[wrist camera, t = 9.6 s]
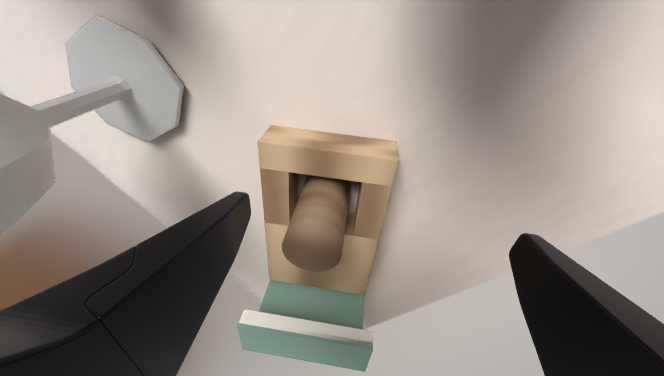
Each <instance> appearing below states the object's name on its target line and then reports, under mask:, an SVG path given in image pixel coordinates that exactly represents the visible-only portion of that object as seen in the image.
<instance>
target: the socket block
mask: <svg viewBox="0 0 664 376" xmlns="http://www.w3.org/2000/svg"><path fill="white" fill-rule="evenodd" d="M258 150H259V162H260V173H261V185H262V197H263V208H264V220H265V231H266V243H267V254H268V266H269V278H270V280H274V281H280V282H286V283H292V284H299V285H305V286H311V287H317V288H323V289H329V290H335V291H341V292H347V293H353V294H360V295H365V291H366V287H367V283H368V279H369V275H370V271H371V267H372V264H373V260H374V256H375V252H376V248H377V244H378V240H379V236H380V232H381V228H382V225H383V221H384V217H385V213H386V209H387V205H388V201H389V197H390V193H391V189H392V186H393V182H394V178H395V174H396V170H397V166H398V162H399V158H398V151H397V144H396V142H395V141H387V140H379V139H372V138H364V137H356V136H349V135H341V134H333V133H325V132H318V131H310V130H302V129H295V128H287V127H279V126H272V125H271V126H270V127H269V128H268V130H267V131H266V132H265V133H264V135H263V136H262V137H261V138H260V140H259V141H258ZM298 173H299V174H306V175H313V176H321V177H328V178H335V179H342V180H349V181H356V182H360V188H359V194H358V200H357V206H356V211H355V213H350V212H347V219H346V227H345V234H344V242H343V249H342V257H341V260H340V262H339V263H338V265H336V266H335V267H334V268H332V269H330V270H327V271H321V272H313V271H307V270H304V269H301V268H299V267H296V266H295V265H293V264H292V263H290V262H289V261H288V260H287V259H286V257H285V256H284V254H283V252H282V242H283V239H284V236H285V234H286V231H287V228H288V226H289V223H290V221H291V218H292V215H293V213H294V210H295V207H296V205H297V178H298Z"/></svg>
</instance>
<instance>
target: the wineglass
mask: <svg viewBox="0 0 664 376" xmlns="http://www.w3.org/2000/svg"><path fill="white" fill-rule="evenodd" d="M66 50H67V58H68V65H69V73H70V80H71V87H72V88H73V89H74V90H75V91H76V92H73V93H70V94H67V95H64V96H61V97H58V98H55V99H52V100H49V101H46V102H43V103H40V104H37V105H34V106H31V107H30V106H27V105H25V104H22V103H20V102H18V101H15V100H13V99H11V98H8V97H6V96H4V95H1V94H0V233H2V232H3V231H5V230H7V229H8V228H10V227H11V226H13V225H14V224H15V223H16V221H18V220H19V219H20V218H21V217H22V216H23V214H24V213H26V211H28V209H29V208H31V206H32V205H33V204H34V203H35V202H36V201H37V200H38V199H39V198H40V197H41V196H42V195H43V194H44V193H45V192H46V191H47V190H48V189H49V188H50V187H51V186H52V185H53V184H54V183H55V182H56V181H55V171H54V162H53V152H52V142H51V132H50V128H52V127H54V126H57V125H59V124H62V123H64V122H67V121H69V120H72V119H74V118H77V117H79V116H82V115H84V114H87V113H89V112H92V111H95V112H96V113H97V114H98V115H99V116H100V117H101V118H102V119H103V120H104V121H105V122H106V123H107V124H108V125H111V126H113V127H115V128H117V129H120V130H122V131H124V132H127V133H129V134H131V135H133V136H136V137H138V138H140V139H143V140H145V141H147V142H150V141H152V140H154V139H156V138H157V137H159V136H161V135H163V134H164V133H166V132H168V131H170V130H171V129H173V128H175V127H177V126H178V125H179V123H180V115H181V106H182V98H183V90H184V85H183V84H182V82H181V81H180V80H179V78H178V77H177V76H176V74H175V73H174V72H173V71H172V69H171V68H170V67H169V65H168V64H167V63H166V61H165V60H164V59H163V57H162V56H161V55H160V53H159V52H158V51H157V49H156V48H155V47H154V45H153V44H152V43H151V42H150V41H149V40H147V39H145V38H143V37H141V36H139V35H137V34H135V33H133V32H131V31H129V30H127V29H125V28H123V27H121V26H119V25H117V24H115V23H113V22H111V21H109V20H107V19H105V18H103V17H101V16H97V15H95V16H93V17H92V18H91V19H90V20H89V21H88V22H87V23H86V24H85V25H84V26H82V27H81V28H80V29H79V30H78V31H77V32H76V33H75V34H74V35H73V36H72V37H71V38H70V39H69V40H68V41H67V42H66Z"/></svg>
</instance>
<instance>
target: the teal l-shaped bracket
mask: <svg viewBox="0 0 664 376" xmlns="http://www.w3.org/2000/svg"><path fill="white" fill-rule="evenodd" d="M363 308H364V295H360V294H353V293H347V292H341V291H335V290H329V289H323V288H317V287H311V286H305V285H299V284H292V283H286V282H280V281H274V280H270V282H269V285H268V288H267V291H266V293H265V296H264V299H263V301H262V304H261V307H260V309H259V312H257V311H252V310H246V309H245V310H244V312H243V314H242V316H241V319H240V321H239V323H238V326H237V328H238V332H239V336H240V340H241V344H242V349H243V350H249V351H254V352H259V353H265V354H271V355H276V356H282V357H287V358H293V359H298V360H304V361H309V362H315V363H320V364H326V365H332V366H337V367H343V368H348V369H354V370H359V371H365V370H366V367H367V365H368V362H369V359H370V356H371V354H372V351H373V331H368V330H363Z"/></svg>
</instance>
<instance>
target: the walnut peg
mask: <svg viewBox="0 0 664 376" xmlns="http://www.w3.org/2000/svg"><path fill="white" fill-rule="evenodd" d="M350 189H351V181H349V180H342V179H335V178H328V177H321V176H313V175H308V176H307V178H306V181H305V184H304V186H303V189H302V191H301V194H300V197H299V199H298V202H297V205H296V207H295V210H294V213H293V215H292V218H291V221H290V223H289V226H288V228H287V231H286V234H285V236H284V239H283V242H282V252H283V254H284V256H285V257H286V259H287V260H288V261H289V262H290V263H292V264H293V265H295V266H296V267H299V268H301V269H304V270H307V271H313V272H321V271H327V270H330V269H332V268H334V267H335V266H336V265H338V263H339V262H340V260H341V257H342V249H343V242H344V234H345V227H346V219H347V211H348V204H349V196H350Z"/></svg>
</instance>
